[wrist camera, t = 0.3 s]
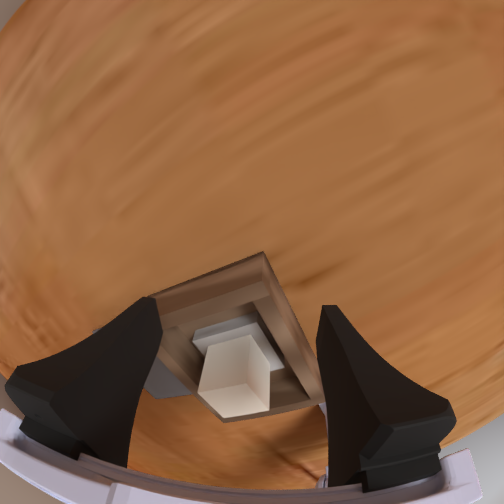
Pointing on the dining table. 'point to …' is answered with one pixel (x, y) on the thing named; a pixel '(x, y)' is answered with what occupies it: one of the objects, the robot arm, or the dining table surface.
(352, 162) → the dining table surface
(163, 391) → the charcoal mat
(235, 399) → the cream block
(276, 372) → the walnut box
